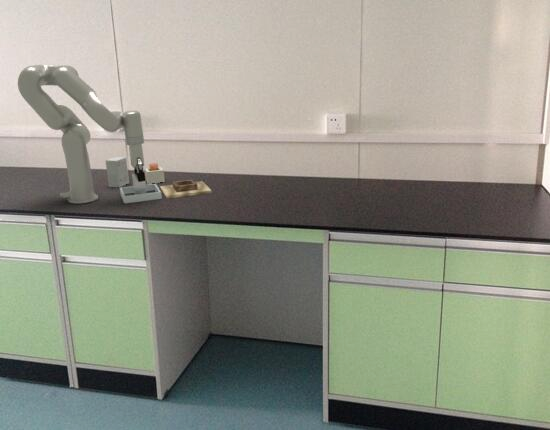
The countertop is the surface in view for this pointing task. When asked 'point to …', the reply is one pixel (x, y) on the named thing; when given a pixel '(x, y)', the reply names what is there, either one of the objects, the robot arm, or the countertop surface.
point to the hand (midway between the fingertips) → (140, 178)
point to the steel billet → (138, 185)
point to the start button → (153, 167)
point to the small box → (117, 171)
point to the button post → (154, 175)
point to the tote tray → (140, 196)
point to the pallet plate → (185, 189)
